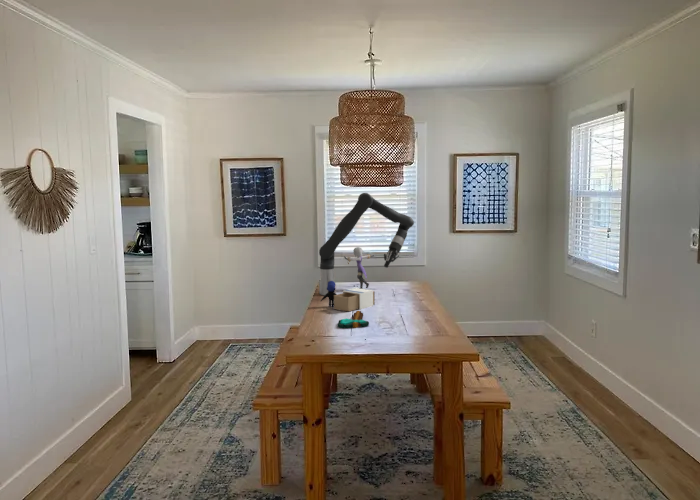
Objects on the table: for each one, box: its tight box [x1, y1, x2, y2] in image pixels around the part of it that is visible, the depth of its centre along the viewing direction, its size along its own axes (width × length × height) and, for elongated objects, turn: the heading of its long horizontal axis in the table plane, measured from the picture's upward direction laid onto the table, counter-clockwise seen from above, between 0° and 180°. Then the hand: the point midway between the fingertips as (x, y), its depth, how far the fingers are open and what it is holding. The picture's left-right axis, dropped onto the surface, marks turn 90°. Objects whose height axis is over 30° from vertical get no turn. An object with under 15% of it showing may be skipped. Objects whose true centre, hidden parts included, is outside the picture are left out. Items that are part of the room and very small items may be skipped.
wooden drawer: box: [333, 290, 376, 312], centre depth 326 cm, size 24×11×8 cm, turn 139°
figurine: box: [343, 246, 375, 289], centre depth 381 cm, size 17×21×30 cm
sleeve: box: [342, 287, 374, 311], centre depth 328 cm, size 12×14×10 cm
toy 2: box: [337, 310, 370, 329], centre depth 292 cm, size 16×3×30 cm
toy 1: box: [320, 280, 338, 308], centre depth 330 cm, size 13×6×15 cm, turn 84°
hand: (385, 266), depth 351 cm, fingers closed
